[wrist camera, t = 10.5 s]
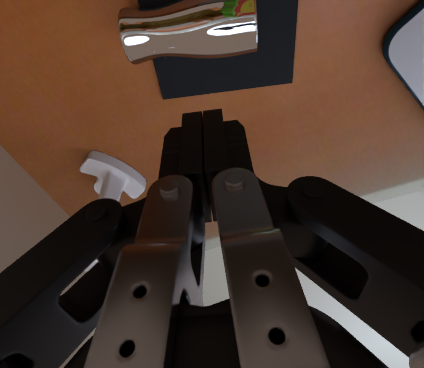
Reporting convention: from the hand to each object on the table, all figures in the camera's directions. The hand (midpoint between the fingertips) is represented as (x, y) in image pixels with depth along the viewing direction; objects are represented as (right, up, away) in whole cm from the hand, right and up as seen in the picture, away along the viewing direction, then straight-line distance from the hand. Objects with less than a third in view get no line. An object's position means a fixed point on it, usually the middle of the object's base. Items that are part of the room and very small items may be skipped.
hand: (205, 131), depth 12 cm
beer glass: (-10, +15, +23) cm, 30 cm away
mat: (+2, +17, +27) cm, 32 cm away
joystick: (-18, 0, +42) cm, 46 cm away
